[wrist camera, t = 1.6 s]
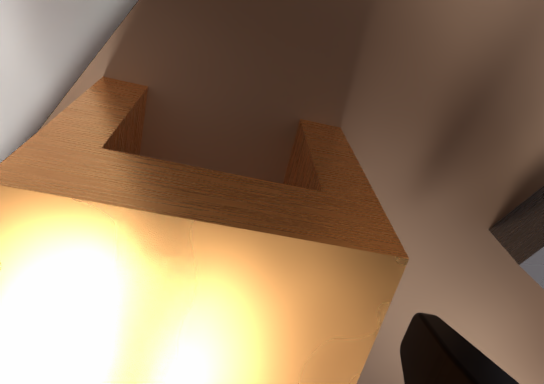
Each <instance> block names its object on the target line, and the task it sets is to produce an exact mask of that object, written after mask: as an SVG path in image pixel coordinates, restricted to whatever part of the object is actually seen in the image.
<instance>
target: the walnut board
mask: <svg viewBox="0 0 544 384" xmlns="http://www.w3.org/2000/svg"><path fill="white" fill-rule="evenodd" d="M102 77H108V78H112V79H117V80H121V81H126V82H131V83H135V84H140V85H145V86H148V92H147V100H146V108H145V116H144V124H143V132H142V140H141V148H140V156H144V157H149V158H154V159H159V160H164V161H169V162H174V163H179V164H185V165H190V166H195V167H200V168H205V169H210V170H215V171H221V172H226V173H231V174H236V175H241V176H246V177H251V178H256V179H262V180H267V181H272V182H277V183H282V184H283V181H284V177H285V173H286V170H287V166H288V162H289V159H290V155H291V151H292V147H293V144H294V140H295V136H296V132H297V129H298V125H299V121H300V119H303V120H308V121H312V122H317V123H322V124H326V125H331V126H336V127H340V128H341V129H342V131H343V133H344V135H345V137H346V139H347V141H348V143H349V145H350V147H351V148H352V150H353V152H354V154H355V156H356V158H357V160H358V162H359V164H360V166H361V168H362V169H363V171H364V173H365V175H366V177H367V179H368V181H369V183H370V185H371V187H372V189H373V190H374V192H375V194H376V196H377V198H378V200H379V202H380V204H381V206H382V208H383V210H384V211H385V213H386V215H387V217H388V219H389V221H390V223H391V225H392V227H393V229H394V231H395V232H396V234H397V236H398V238H399V240H400V242H401V244H402V246H403V248H404V250H405V252H406V253H407V255H408V257H409V261H408V263H407V265H406V268H405V270H404V273H403V275H402V277H401V280H400V282H399V284H398V287H397V289H396V291H395V294H394V296H393V299H392V301H391V303H390V306H389V308H388V310H387V313H386V315H385V317H384V320H383V322H382V325H381V327H380V329H379V332H378V334H377V336H376V339H375V341H374V343H373V346H372V348H371V351H370V353H369V355H368V358H367V360H366V362H365V365H364V367H363V370H362V372H361V374H360V377H359V379H358V381H357V384H404V377H403V371H402V364H401V358H400V345H401V342H402V339H403V337H404V335H405V333H406V330H407V328H408V326H409V324H410V322H411V319H412V317H413V316H414V315H415V314H416V313H418V312H421V313H427V314H433V315H436V316H438V317H440V318H441V319H442V320H443V321H444V322H446V323H447V324H448V325H449V326H450V327H452V328H453V329H454V330H455V331H456V332H458V333H459V334H460V335H461V336H463V337H464V338H465V339H466V340H467V341H469V342H470V343H471V344H472V345H473V346H475V347H476V348H477V349H478V350H480V351H481V352H482V353H483V354H484V355H486V356H487V357H488V358H489V359H490V360H492V361H493V362H494V363H495V364H497V365H498V366H499V367H500V368H501V369H503V370H504V371H505V372H506V373H507V374H509V375H510V376H511V377H512V378H513V379H515V380H516V381H517V382H518V383H520V384H544V289H543V288H542V287H541V286H540V285H539V284H538V283H537V282H536V281H535V280H534V279H533V278H532V277H531V276H530V275H529V274H528V273H527V272H526V271H525V270H523V269H522V268H521V267H520V266H519V264H518V263H517V262H516V261H515V260H514V259H513V258H512V256H511V255H510V254H509V253H508V252H507V251H506V249H505V248H504V247H503V246H502V245H501V244H500V243H499V241H498V240H497V239H496V238H495V237H494V236H493V234H492V233H491V232H490V231H489V230H488V229H489V228H491V227H492V226H493V225H494V224H496V223H497V222H498V221H499V220H501V219H502V218H503V217H505V216H506V215H507V214H508V213H510V212H511V211H512V210H513V209H515V208H516V207H517V206H518V205H520V204H521V203H522V202H524V201H525V200H526V199H527V198H529V197H530V196H531V195H532V194H534V193H535V192H536V191H537V190H539V189H540V188H541V187H542V186H544V0H138V2H137V3H136V4H135V6H134V7H133V8H132V9H131V11H130V12H129V13H128V15H127V16H126V17H125V19H124V20H123V21H122V22H121V24H120V25H119V26H118V28H117V29H116V30H115V32H114V33H113V34H112V36H111V37H110V38H109V39H108V41H107V42H106V43H105V45H104V46H103V47H102V49H101V50H100V51H99V52H98V54H97V55H96V56H95V58H94V59H93V60H92V62H91V63H90V64H89V65H88V67H87V68H86V69H85V71H84V72H83V73H82V75H81V76H80V77H79V78H78V80H77V81H76V82H75V84H74V85H73V86H72V88H71V89H70V90H69V91H68V93H67V94H66V95H65V97H64V98H63V99H62V101H61V102H60V103H59V104H58V106H57V107H56V108H55V110H54V111H53V112H52V114H51V115H50V116H49V117H48V119H47V120H46V121H45V123H44V124H43V125H42V127H41V128H40V129H42V128H43V127H44V126H45V125H46V124H47V123H49V122H50V121H51V120H52V119H53V118H55V117H56V116H57V115H58V114H59V113H60V112H62V111H63V110H64V109H65V108H66V107H68V106H69V105H70V104H71V103H72V102H73V101H75V100H76V99H77V98H78V97H79V96H81V95H82V94H83V93H84V92H85V91H86V90H88V89H89V88H90V87H91V86H92V85H94V84H95V83H96V82H97V81H98V80H99V79H101V78H102ZM40 129H39V130H40ZM39 130H38V131H39Z"/></svg>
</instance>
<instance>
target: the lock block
mask: <svg viewBox="0 0 544 384" xmlns="http://www.w3.org/2000/svg"><path fill="white" fill-rule="evenodd" d="M147 92H148V86H145V85H140V84H135V83H131V82H126V81H121V80H117V79H112V78H108V77H102V78H101V79H99V80H98V81H97V82H96V83H95V84H94V85H92V86H91V87H90V88H89V89H88V90H86V91H85V92H84V93H83V94H82V95H81V96H79V97H78V98H77V99H76V100H75V101H73V102H72V103H71V104H70V105H69V106H68V107H66V108H65V109H64V110H63V111H62V112H60V113H59V114H58V115H57V116H56V117H55V118H53V119H52V120H51V121H50V122H49V123H47V124H46V125H45V126H44V127H43V128H42V129H40V130H39V131H38V132H37V133H36V134H34V135H33V136H32V137H31V138H30V139H29V140H27V141H26V142H25V143H24V144H23V145H21V146H20V147H19V148H18V149H17V150H16V151H14V152H13V153H12V154H11V155H10V156H8V157H7V158H6V159H5V160H4V161H3V162H1V163H0V384H357V381H358V379H359V377H360V374H361V372H362V370H363V367H364V365H365V362H366V360H367V358H368V355H369V353H370V351H371V348H372V346H373V343H374V341H375V339H376V336H377V334H378V332H379V329H380V327H381V325H382V322H383V320H384V317H385V315H386V313H387V310H388V308H389V306H390V303H391V301H392V299H393V296H394V294H395V291H396V289H397V287H398V284H399V282H400V280H401V277H402V275H403V273H404V270H405V268H406V265H407V263H408V261H409V257H408V255H407V253H406V252H405V250H404V248H403V246H402V244H401V242H400V240H399V238H398V236H397V234H396V232H395V231H394V229H393V227H392V225H391V223H390V221H389V219H388V217H387V215H386V213H385V211H384V210H383V208H382V206H381V204H380V202H379V200H378V198H377V196H376V194H375V192H374V190H373V189H372V187H371V185H370V183H369V181H368V179H367V177H366V175H365V173H364V171H363V169H362V168H361V166H360V164H359V162H358V160H357V158H356V156H355V154H354V152H353V150H352V148H351V147H350V145H349V143H348V141H347V139H346V137H345V135H344V133H343V131H342V129H341V128H340V127H336V126H331V125H326V124H322V123H317V122H312V121H308V120H303V119H300V121H299V125H298V129H297V132H296V136H295V140H294V144H293V147H292V151H291V155H290V159H289V162H288V166H287V170H286V173H285V177H284V181H283V184H282V183H277V182H272V181H267V180H262V179H256V178H251V177H246V176H241V175H236V174H231V173H226V172H221V171H215V170H210V169H205V168H200V167H195V166H190V165H185V164H179V163H174V162H169V161H164V160H159V159H154V158H149V157H144V156H140V148H141V140H142V132H143V124H144V116H145V108H146V100H147Z"/></svg>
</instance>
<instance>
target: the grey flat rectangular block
mask: <svg viewBox="0 0 544 384" xmlns="http://www.w3.org/2000/svg"><path fill="white" fill-rule="evenodd" d="M488 230H489V231H490V232H491V233H492V234H493V236H494V237H495V238H496V239H497V240H498V241H499V243H500V244H501V245H502V246H503V247H504V248H505V249H506V251H507V252H508V253H509V254H510V255H511V256H512V258H513V259H514V260H515V261H516V262H517V263H518V264H519V266H520V267H521V268H522V269H523V270H525V271H526V272H527V273H528V274H529V275H530V276H531V277H532V278H533V279H534V280H535V281H536V282H537V283H538V284H539V285H540V286H541V287H542V288H543V289H544V186H542V187H541V188H540V189H539V190H537V191H536V192H535V193H534V194H532V195H531V196H530V197H529V198H527V199H526V200H525V201H524V202H522V203H521V204H520V205H518V206H517V207H516V208H515V209H513V210H512V211H511V212H510V213H508V214H507V215H506V216H505V217H503V218H502V219H501V220H499V221H498V222H497V223H496V224H494V225H493V226H492V227H491V228H489V229H488Z"/></svg>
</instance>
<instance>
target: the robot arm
mask: <svg viewBox="0 0 544 384" xmlns="http://www.w3.org/2000/svg"><path fill="white" fill-rule="evenodd" d="M400 358H401V364H402V371H403V377H404V384H520V383H518V382H517V381H516V380H515V379H513V378H512V377H511V376H510V375H509V374H507V373H506V372H505V371H504V370H503V369H501V368H500V367H499V366H498V365H497V364H495V363H494V362H493V361H492V360H490V359H489V358H488V357H487V356H486V355H484V354H483V353H482V352H481V351H480V350H478V349H477V348H476V347H475V346H473V345H472V344H471V343H470V342H469V341H467V340H466V339H465V338H464V337H463V336H461V335H460V334H459V333H458V332H456V331H455V330H454V329H453V328H452V327H450V326H449V325H448V324H447V323H446V322H444V321H443V320H442V319H441V318H440V317H438V316H436V315H433V314H427V313H421V312H418V313H416V314H415V315H414V316H413V317H412V319H411V322H410V324H409V326H408V328H407V330H406V333H405V335H404V337H403V339H402V342H401V345H400Z"/></svg>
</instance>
